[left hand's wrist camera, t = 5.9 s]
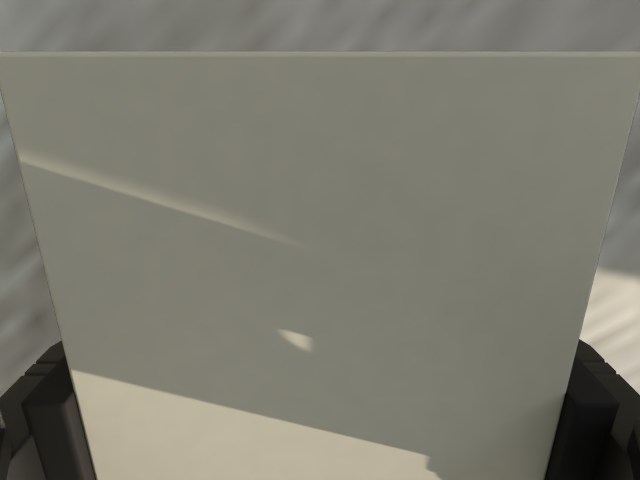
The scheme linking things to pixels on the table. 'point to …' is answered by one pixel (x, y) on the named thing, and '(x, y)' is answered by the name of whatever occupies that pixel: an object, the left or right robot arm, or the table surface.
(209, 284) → the thick board
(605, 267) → the table surface
